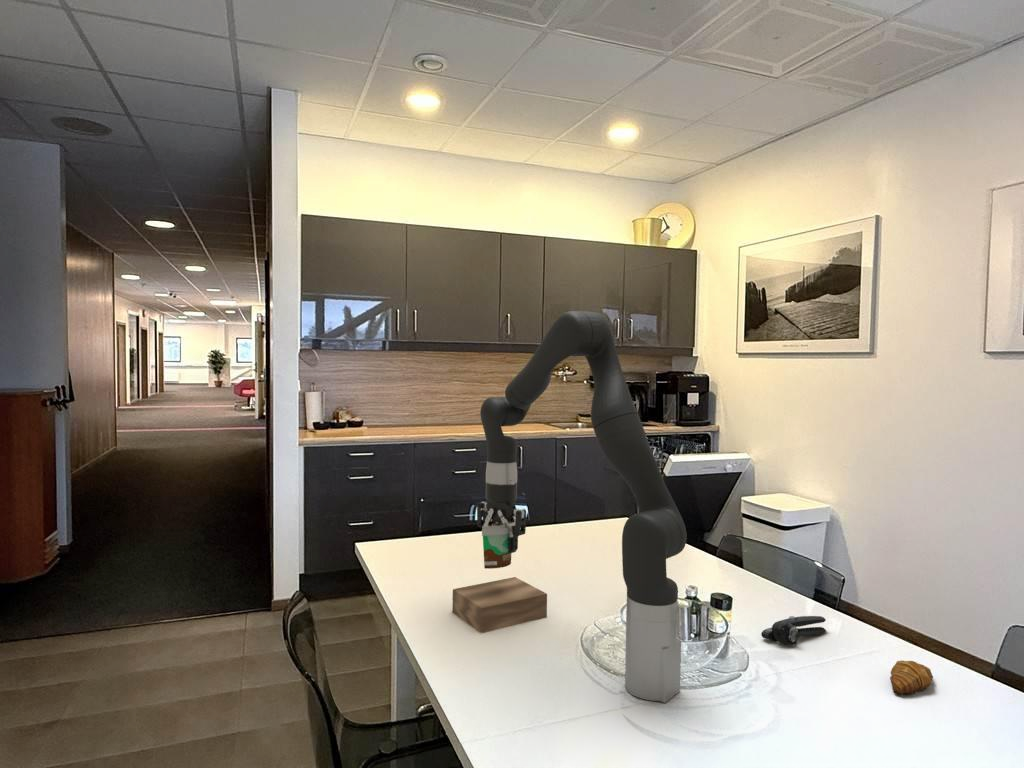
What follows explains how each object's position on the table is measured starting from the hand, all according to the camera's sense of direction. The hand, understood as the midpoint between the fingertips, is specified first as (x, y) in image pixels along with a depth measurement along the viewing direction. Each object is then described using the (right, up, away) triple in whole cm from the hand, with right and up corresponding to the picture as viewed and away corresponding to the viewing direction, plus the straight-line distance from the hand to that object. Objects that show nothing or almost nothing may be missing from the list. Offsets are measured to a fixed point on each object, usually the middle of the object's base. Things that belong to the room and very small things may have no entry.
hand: (500, 548), depth 150 cm
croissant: (+79, -18, -31) cm, 86 cm away
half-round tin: (+1, -4, 0) cm, 4 cm away
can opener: (+67, -18, -10) cm, 70 cm away
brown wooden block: (0, -16, 0) cm, 16 cm away
